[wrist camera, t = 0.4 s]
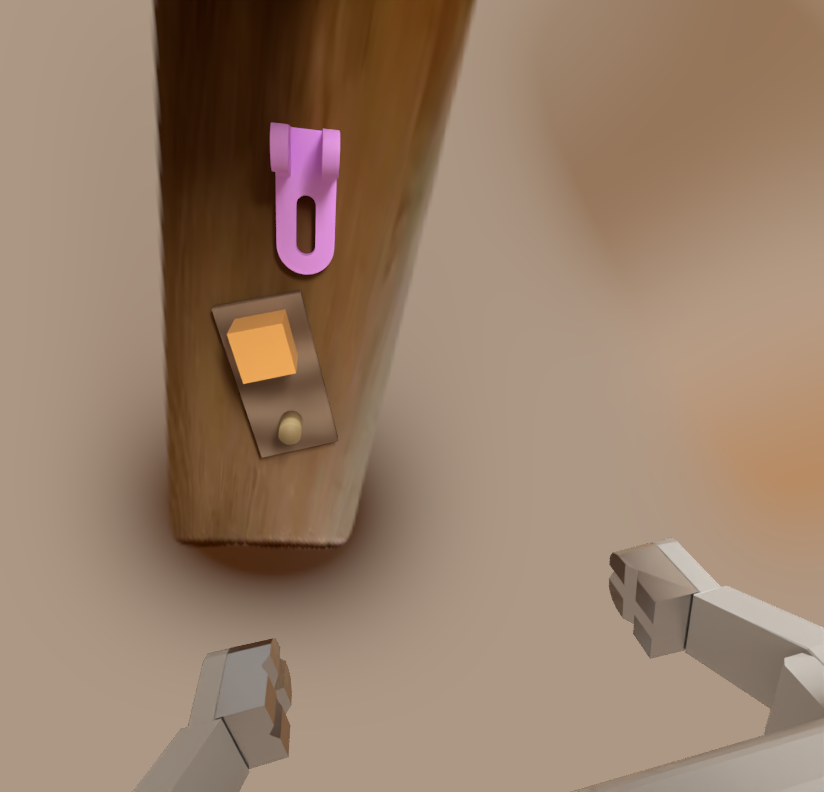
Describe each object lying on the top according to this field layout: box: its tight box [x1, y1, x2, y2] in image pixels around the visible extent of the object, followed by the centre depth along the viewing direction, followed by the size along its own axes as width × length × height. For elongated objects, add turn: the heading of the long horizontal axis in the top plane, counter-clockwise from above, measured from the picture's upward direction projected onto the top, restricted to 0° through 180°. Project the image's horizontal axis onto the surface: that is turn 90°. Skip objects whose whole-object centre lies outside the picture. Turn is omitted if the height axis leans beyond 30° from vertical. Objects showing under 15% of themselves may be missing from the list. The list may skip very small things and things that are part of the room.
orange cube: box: [227, 310, 298, 384], centre depth 50 cm, size 5×5×5 cm
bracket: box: [270, 122, 340, 275], centre depth 45 cm, size 13×6×7 cm, turn 174°
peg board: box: [211, 290, 338, 458], centre depth 53 cm, size 18×9×5 cm, turn 9°
